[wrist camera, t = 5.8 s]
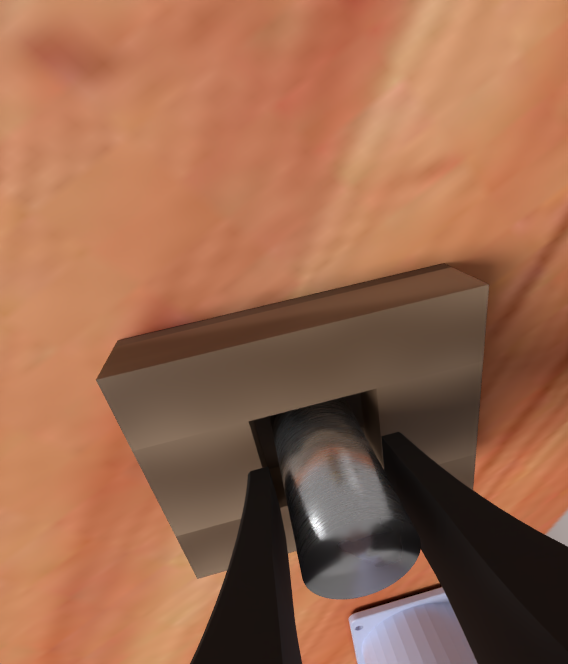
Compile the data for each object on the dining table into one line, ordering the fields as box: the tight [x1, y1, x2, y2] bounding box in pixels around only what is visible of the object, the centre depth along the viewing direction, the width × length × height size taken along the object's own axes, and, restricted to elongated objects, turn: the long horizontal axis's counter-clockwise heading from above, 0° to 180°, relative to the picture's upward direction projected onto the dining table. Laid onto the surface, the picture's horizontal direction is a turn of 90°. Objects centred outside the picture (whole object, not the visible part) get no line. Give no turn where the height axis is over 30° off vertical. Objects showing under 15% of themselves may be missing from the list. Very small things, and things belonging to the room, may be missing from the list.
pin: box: [270, 397, 421, 599], centre depth 12 cm, size 3×3×6 cm
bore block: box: [96, 264, 489, 579], centre depth 14 cm, size 10×12×2 cm
